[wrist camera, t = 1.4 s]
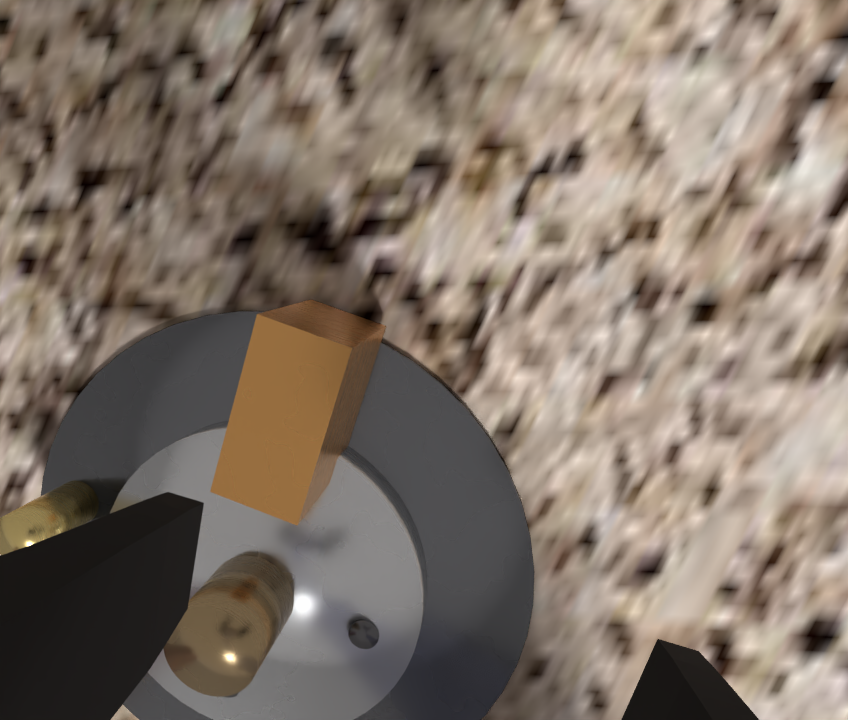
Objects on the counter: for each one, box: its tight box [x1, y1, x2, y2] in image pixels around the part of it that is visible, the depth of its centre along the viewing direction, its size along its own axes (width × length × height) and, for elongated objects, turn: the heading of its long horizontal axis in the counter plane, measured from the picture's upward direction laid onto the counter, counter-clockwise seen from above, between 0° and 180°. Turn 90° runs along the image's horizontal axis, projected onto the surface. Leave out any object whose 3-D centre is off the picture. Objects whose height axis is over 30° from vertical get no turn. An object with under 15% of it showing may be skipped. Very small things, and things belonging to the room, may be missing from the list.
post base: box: [0, 311, 534, 720], centre depth 18 cm, size 18×18×4 cm
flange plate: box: [110, 300, 427, 720], centre depth 18 cm, size 11×15×4 cm
